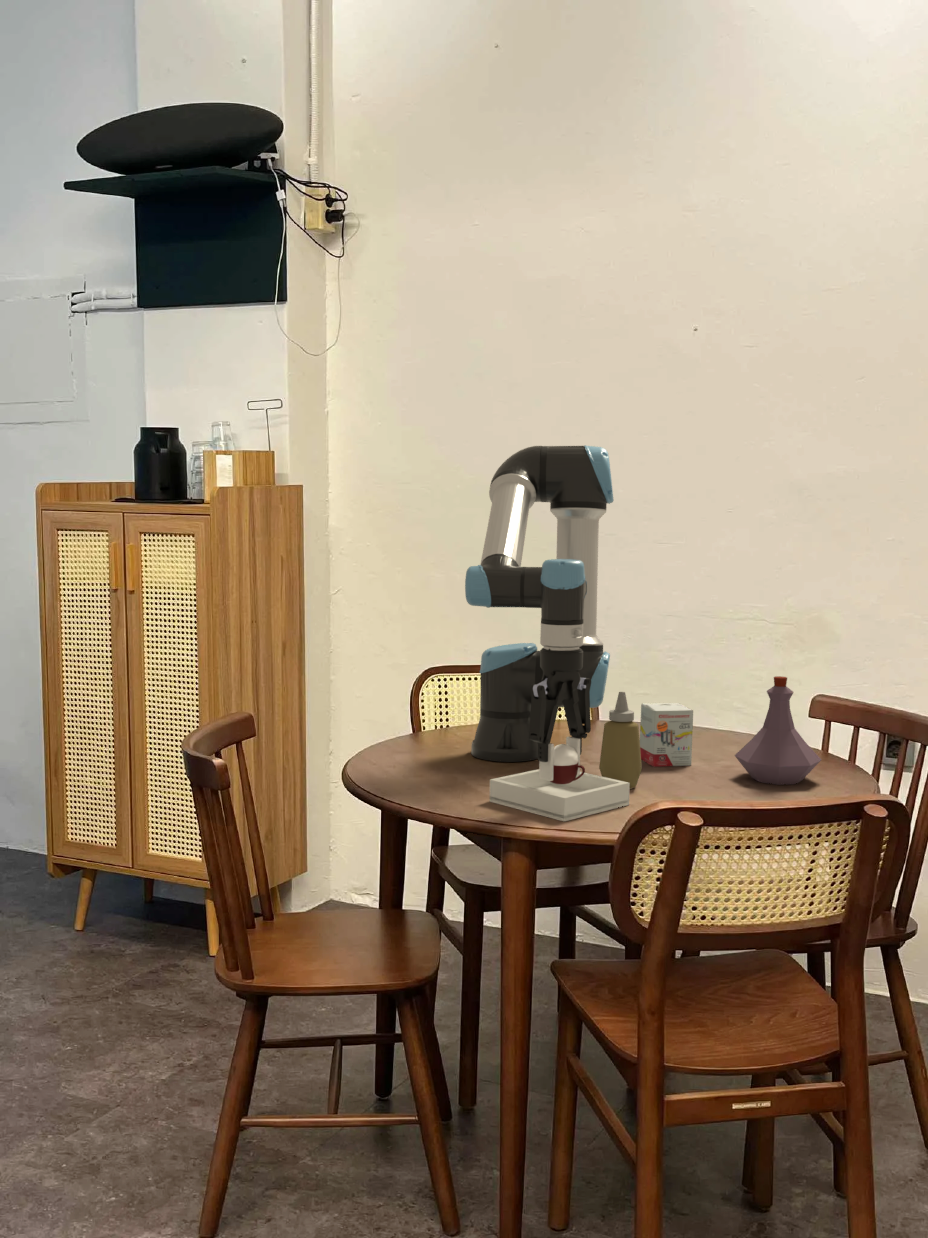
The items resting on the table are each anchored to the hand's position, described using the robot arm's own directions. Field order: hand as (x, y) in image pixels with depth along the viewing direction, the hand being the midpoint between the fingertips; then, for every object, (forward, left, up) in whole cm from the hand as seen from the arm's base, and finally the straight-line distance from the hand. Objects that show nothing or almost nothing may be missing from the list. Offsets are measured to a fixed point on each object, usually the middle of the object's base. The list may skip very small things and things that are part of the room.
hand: (559, 776), depth 222 cm
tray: (0, 0, -5) cm, 5 cm away
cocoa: (0, 0, -1) cm, 1 cm away
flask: (-46, +15, -5) cm, 49 cm away
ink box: (-42, -9, -5) cm, 43 cm away
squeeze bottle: (-18, -1, -5) cm, 19 cm away
